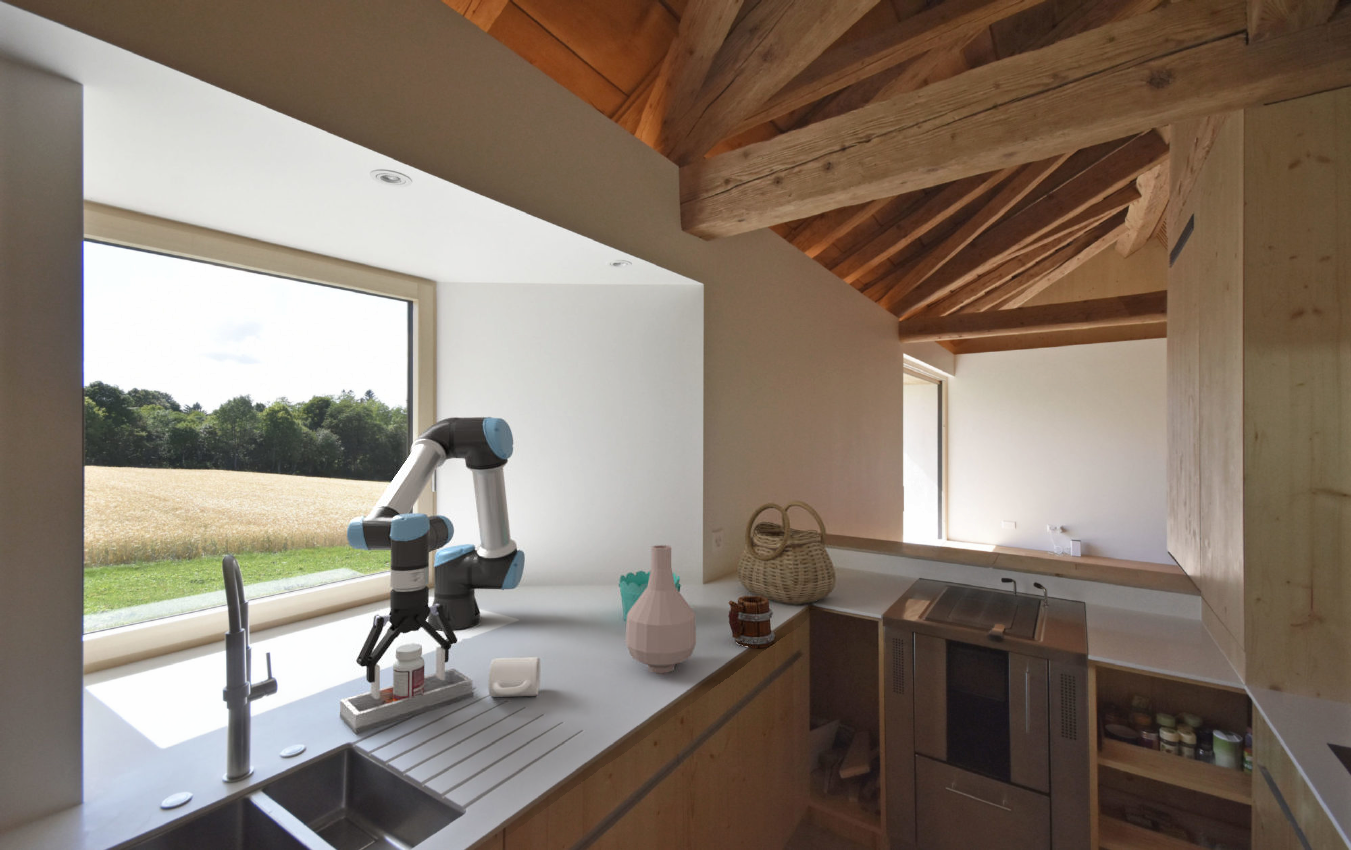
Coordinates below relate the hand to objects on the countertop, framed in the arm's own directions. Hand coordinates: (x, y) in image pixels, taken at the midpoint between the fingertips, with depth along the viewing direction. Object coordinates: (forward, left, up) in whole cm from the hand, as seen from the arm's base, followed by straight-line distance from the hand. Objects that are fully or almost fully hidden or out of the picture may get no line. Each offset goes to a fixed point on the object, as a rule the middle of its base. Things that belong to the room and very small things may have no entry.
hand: (409, 687), depth 130 cm
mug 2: (+26, +83, -4) cm, 87 cm away
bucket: (-11, +79, -4) cm, 80 cm away
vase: (+22, +53, -4) cm, 58 cm away
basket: (+4, +131, -4) cm, 131 cm away
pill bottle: (0, 0, -3) cm, 3 cm away
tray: (0, 0, -4) cm, 4 cm away
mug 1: (+12, +18, -4) cm, 22 cm away
